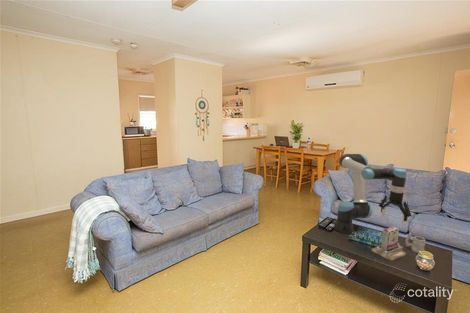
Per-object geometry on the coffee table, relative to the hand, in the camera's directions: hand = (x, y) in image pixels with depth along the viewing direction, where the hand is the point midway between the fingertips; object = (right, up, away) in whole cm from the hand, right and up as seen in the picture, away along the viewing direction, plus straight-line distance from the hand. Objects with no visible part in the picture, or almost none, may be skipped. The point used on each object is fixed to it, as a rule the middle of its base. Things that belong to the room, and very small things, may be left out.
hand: (392, 221), depth 168 cm
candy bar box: (-1, -22, +4) cm, 22 cm away
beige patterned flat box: (-1, -23, +4) cm, 24 cm away
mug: (+21, -23, +8) cm, 32 cm away
